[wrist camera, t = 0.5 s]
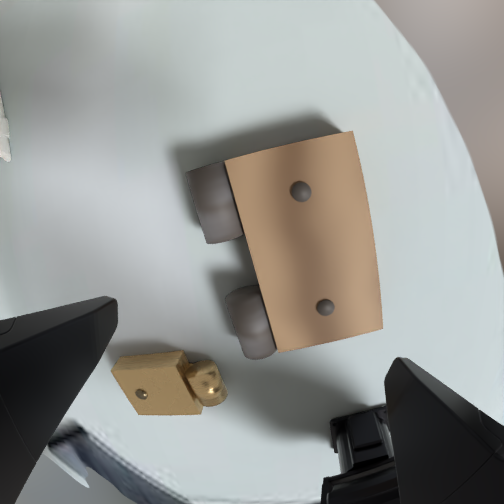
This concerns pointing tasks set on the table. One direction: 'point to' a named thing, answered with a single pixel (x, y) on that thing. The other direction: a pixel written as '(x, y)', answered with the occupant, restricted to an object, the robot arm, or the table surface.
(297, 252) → the tan flat piece
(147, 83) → the table surface
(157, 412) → the tan knobbed block
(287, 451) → the table surface
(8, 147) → the door handle
